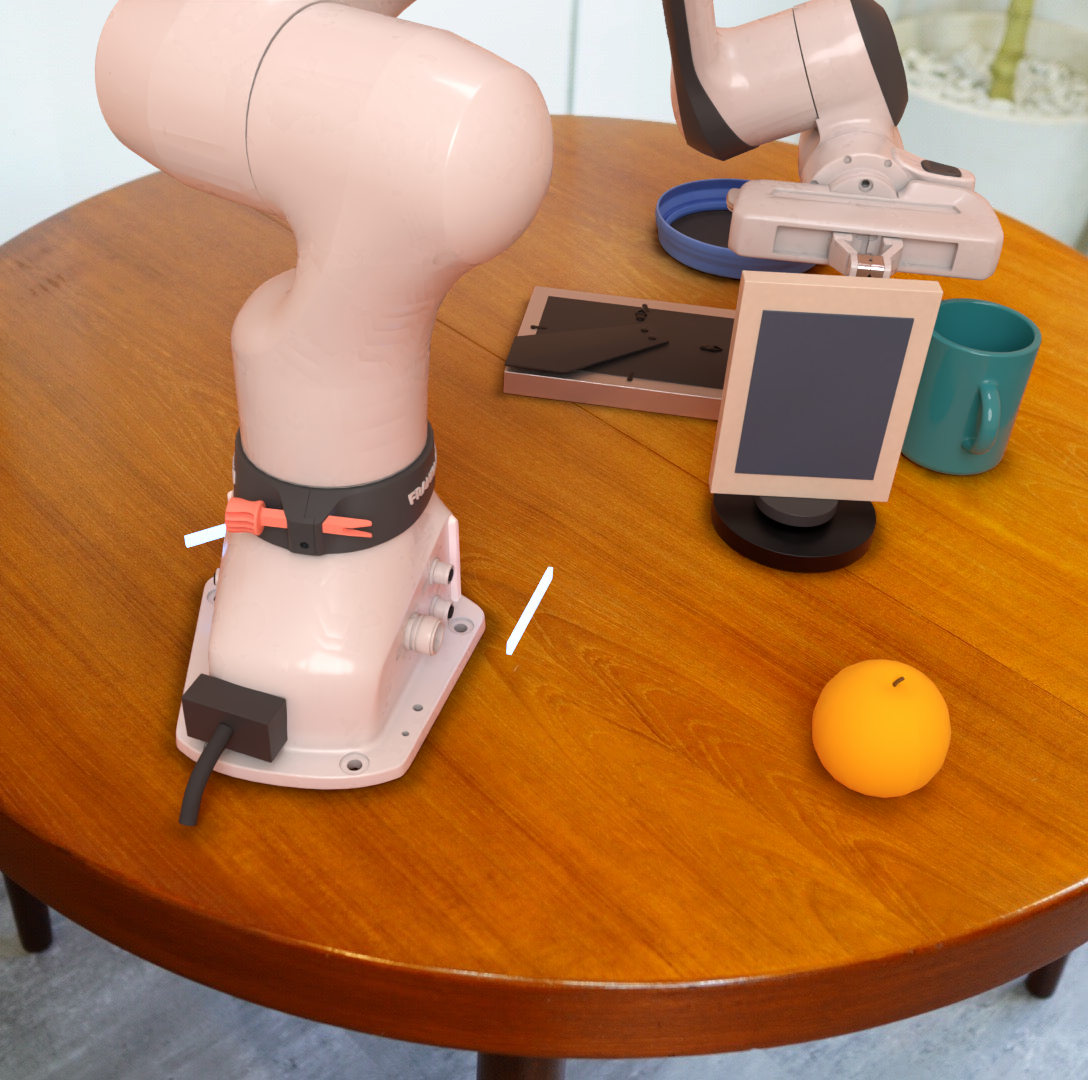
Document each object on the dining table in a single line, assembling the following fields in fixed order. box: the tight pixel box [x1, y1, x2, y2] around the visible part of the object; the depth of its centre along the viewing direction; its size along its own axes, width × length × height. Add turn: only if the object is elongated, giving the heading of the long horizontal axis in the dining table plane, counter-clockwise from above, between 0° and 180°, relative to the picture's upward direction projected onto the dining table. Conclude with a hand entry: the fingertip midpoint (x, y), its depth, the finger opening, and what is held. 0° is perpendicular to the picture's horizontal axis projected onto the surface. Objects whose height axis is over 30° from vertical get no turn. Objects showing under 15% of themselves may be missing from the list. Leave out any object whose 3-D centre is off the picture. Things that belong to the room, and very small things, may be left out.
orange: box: [811, 658, 952, 799], centre depth 77 cm, size 8×8×8 cm
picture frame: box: [503, 285, 736, 422], centre depth 115 cm, size 16×3×21 cm
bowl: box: [654, 177, 817, 280], centre depth 134 cm, size 18×18×4 cm
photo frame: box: [708, 270, 944, 527], centre depth 92 cm, size 6×13×18 cm, turn 89°
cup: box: [900, 297, 1043, 476], centre depth 103 cm, size 9×12×11 cm
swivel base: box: [710, 493, 877, 574], centre depth 98 cm, size 12×12×2 cm
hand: (869, 277), depth 95 cm, fingers closed
